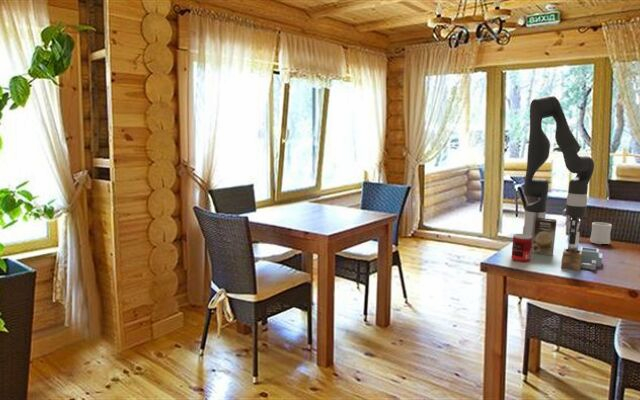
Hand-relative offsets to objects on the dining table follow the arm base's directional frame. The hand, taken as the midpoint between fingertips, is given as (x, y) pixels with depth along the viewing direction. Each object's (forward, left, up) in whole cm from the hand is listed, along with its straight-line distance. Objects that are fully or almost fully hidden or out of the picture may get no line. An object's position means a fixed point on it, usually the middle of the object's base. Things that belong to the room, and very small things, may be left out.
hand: (572, 242), depth 207 cm
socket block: (0, 0, -11) cm, 11 cm away
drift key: (+4, 0, -11) cm, 11 cm away
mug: (+9, +56, -11) cm, 58 cm away
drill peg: (0, 0, -6) cm, 6 cm away
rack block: (+6, +10, -11) cm, 16 cm away
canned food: (-20, -1, -11) cm, 22 cm away
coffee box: (-13, +17, -11) cm, 24 cm away
